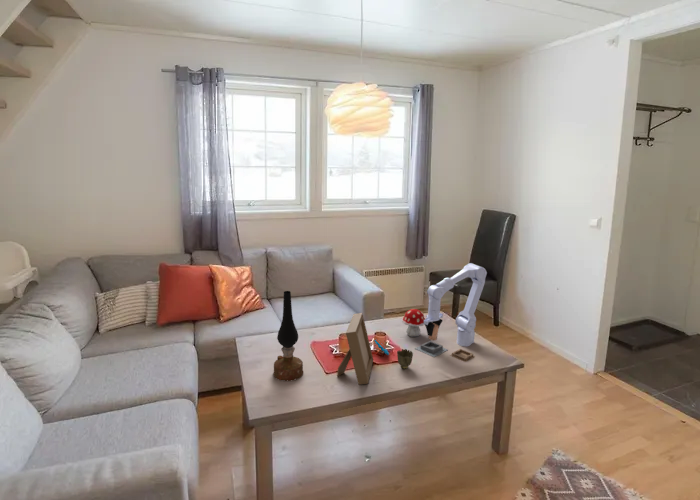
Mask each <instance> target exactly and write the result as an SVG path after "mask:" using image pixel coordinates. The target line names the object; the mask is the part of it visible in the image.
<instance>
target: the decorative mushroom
mask: <svg viewBox="0 0 700 500" xmlns="http://www.w3.org/2000/svg"><path fill="white" fill-rule="evenodd" d="M425 319H426V318H425V315H424V313H423V312H422V311H421V310H420V309H417V308H410V309H407V311H405V313H404V316H403V317H402V318H401V323H402V324H403V325H405V326H407V327H406V331H405V332H406V334H407V336H408V337H414V338H416V337H419V336H420V335H421V328H420V327H423V326H425V324H424V320H425Z"/></svg>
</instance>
